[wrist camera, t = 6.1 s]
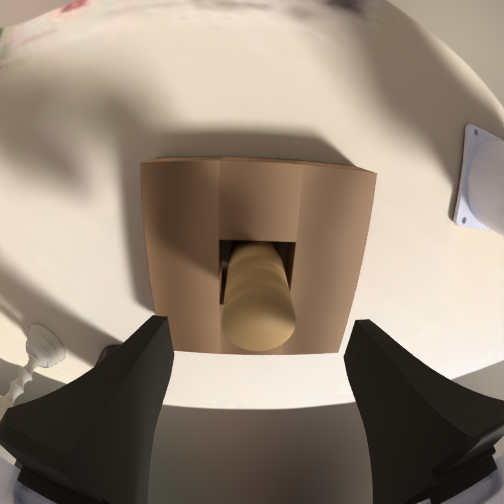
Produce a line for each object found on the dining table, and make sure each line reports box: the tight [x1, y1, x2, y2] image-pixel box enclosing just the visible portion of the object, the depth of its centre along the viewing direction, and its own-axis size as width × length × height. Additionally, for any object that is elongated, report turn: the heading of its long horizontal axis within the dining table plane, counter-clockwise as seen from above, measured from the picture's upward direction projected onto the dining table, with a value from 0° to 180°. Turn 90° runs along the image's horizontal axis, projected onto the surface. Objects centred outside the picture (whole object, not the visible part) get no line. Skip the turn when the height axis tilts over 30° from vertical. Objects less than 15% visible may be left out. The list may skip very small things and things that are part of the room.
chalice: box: [0, 324, 66, 465], centre depth 13 cm, size 7×7×18 cm
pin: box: [221, 240, 296, 351], centre depth 14 cm, size 3×3×7 cm
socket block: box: [140, 157, 377, 355], centre depth 16 cm, size 12×12×3 cm
